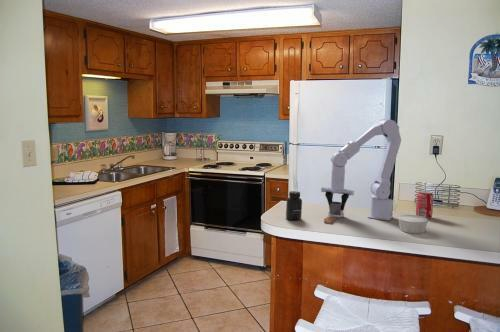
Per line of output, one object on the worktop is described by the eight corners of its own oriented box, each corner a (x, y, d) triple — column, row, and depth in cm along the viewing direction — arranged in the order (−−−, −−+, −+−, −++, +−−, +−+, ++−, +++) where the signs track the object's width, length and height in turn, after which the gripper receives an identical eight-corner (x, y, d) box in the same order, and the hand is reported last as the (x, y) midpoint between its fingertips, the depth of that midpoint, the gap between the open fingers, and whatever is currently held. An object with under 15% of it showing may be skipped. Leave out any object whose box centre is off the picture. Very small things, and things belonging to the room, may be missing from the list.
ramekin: (400, 234, 164) (401, 221, 163) (394, 226, 175) (395, 213, 174) (430, 235, 163) (431, 222, 162) (422, 227, 173) (423, 215, 173)
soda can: (429, 215, 193) (431, 190, 191) (434, 219, 186) (436, 193, 184) (413, 215, 194) (415, 189, 192) (418, 219, 187) (420, 192, 185)
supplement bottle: (296, 221, 178) (297, 194, 177) (282, 219, 182) (283, 192, 181) (304, 218, 184) (305, 192, 182) (291, 215, 188) (292, 189, 186)
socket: (343, 212, 189) (343, 202, 188) (340, 214, 185) (340, 204, 184) (332, 210, 191) (332, 201, 191) (329, 213, 187) (329, 203, 186)
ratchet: (330, 213, 193) (331, 204, 192) (345, 215, 190) (346, 206, 189) (319, 222, 179) (319, 211, 178) (335, 224, 175) (335, 214, 175)
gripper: (319, 179, 186) (318, 208, 188) (351, 182, 179) (350, 213, 181) (324, 177, 192) (323, 205, 194) (355, 180, 185) (354, 209, 187)
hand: (336, 209), depth 188 cm, fingers closed on socket, 5 cm apart
